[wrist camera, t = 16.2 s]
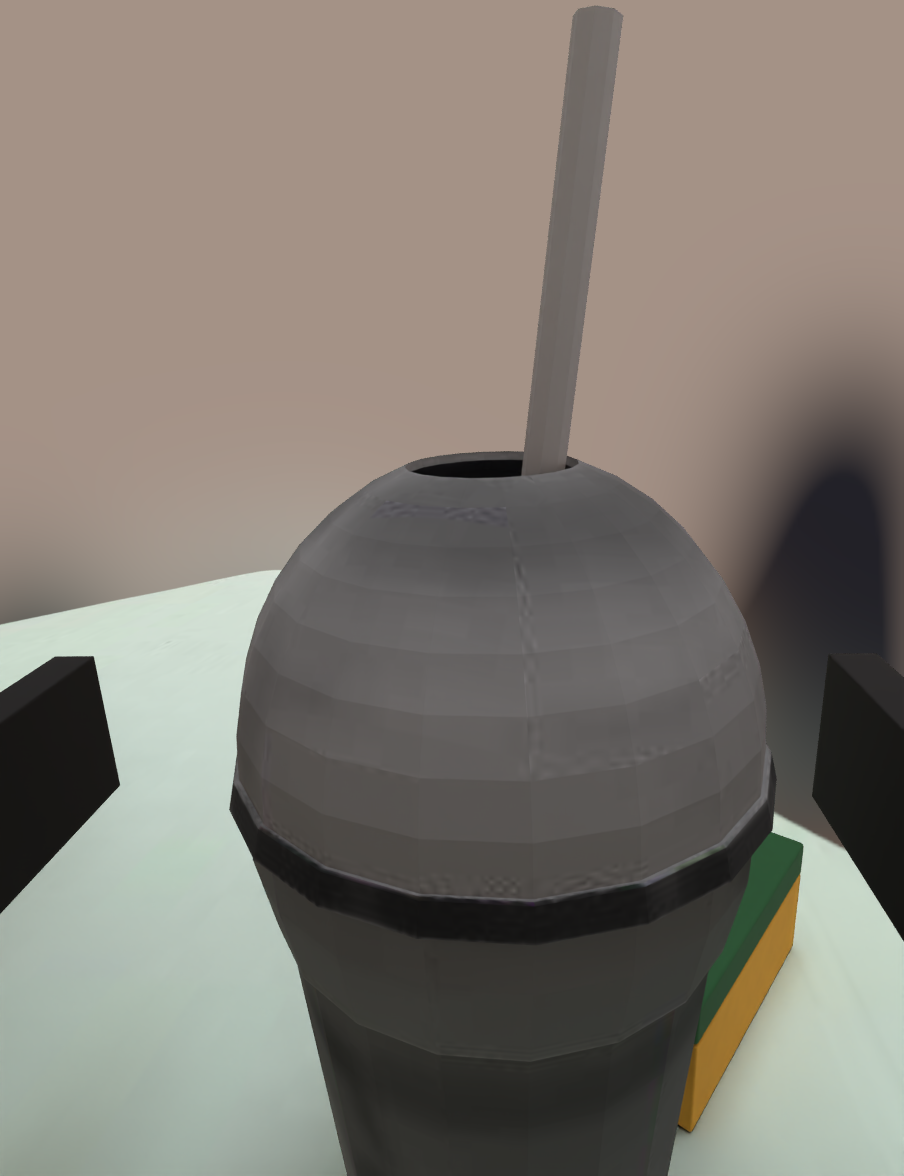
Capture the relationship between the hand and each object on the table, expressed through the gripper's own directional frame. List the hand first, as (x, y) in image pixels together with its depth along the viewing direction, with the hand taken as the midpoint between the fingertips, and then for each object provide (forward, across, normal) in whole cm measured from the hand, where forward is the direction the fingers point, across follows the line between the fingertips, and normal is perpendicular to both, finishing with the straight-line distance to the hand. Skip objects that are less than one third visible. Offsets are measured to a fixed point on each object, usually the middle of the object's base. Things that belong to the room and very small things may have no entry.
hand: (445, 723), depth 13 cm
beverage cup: (-3, +1, -11) cm, 11 cm away
